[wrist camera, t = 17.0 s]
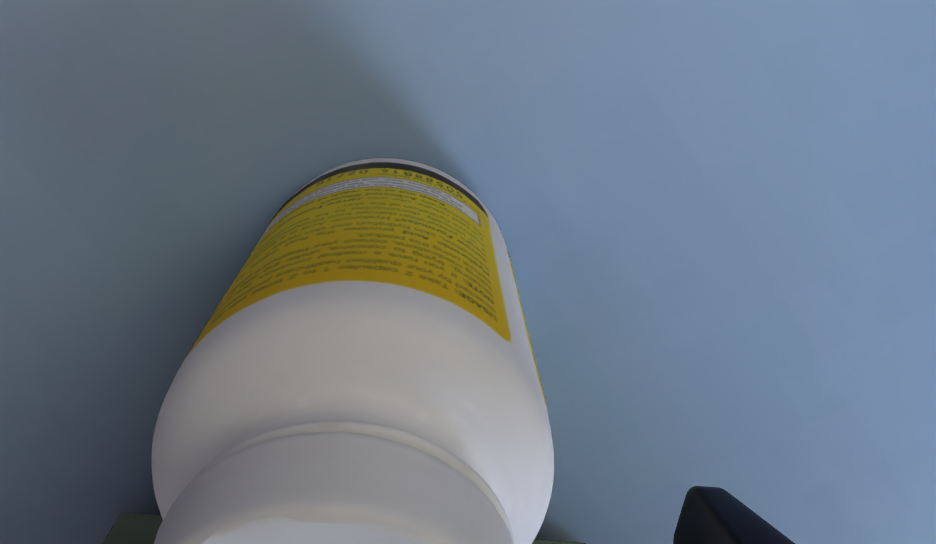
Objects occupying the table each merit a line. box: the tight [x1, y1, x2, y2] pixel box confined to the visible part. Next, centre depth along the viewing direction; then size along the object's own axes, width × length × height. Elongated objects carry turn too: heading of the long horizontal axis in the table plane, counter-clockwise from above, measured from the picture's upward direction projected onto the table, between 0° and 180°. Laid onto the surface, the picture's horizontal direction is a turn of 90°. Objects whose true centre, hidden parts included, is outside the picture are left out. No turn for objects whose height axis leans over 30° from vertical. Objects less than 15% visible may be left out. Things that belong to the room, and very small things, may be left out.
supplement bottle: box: [151, 158, 554, 544], centre depth 11 cm, size 5×5×10 cm
